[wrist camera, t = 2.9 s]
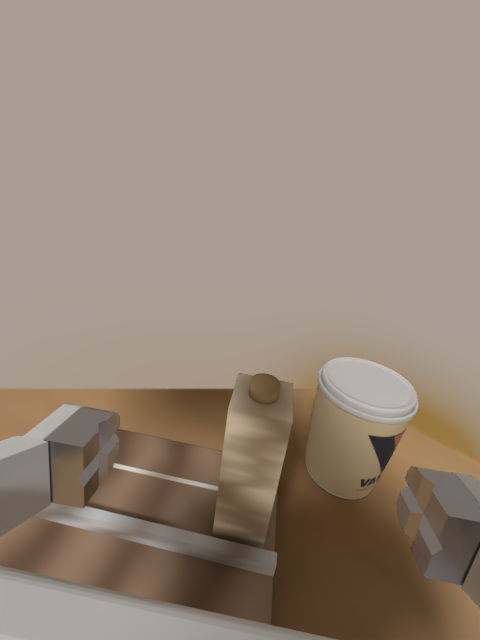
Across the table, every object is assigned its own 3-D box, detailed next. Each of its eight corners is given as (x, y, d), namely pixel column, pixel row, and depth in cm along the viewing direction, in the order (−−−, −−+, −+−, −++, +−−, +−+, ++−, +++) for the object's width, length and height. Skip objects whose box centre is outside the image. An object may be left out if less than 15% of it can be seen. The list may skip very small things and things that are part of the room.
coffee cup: (366, 528, 29) (409, 429, 24) (282, 468, 34) (303, 377, 29) (392, 468, 36) (429, 382, 31) (318, 426, 41) (341, 346, 36)
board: (-37, 575, 22) (-50, 545, 21) (83, 435, 35) (80, 410, 34) (265, 659, 20) (273, 632, 19) (275, 477, 33) (281, 453, 31)
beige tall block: (211, 539, 24) (230, 394, 19) (224, 486, 29) (241, 355, 23) (262, 551, 24) (296, 407, 18) (266, 495, 28) (295, 365, 23)
